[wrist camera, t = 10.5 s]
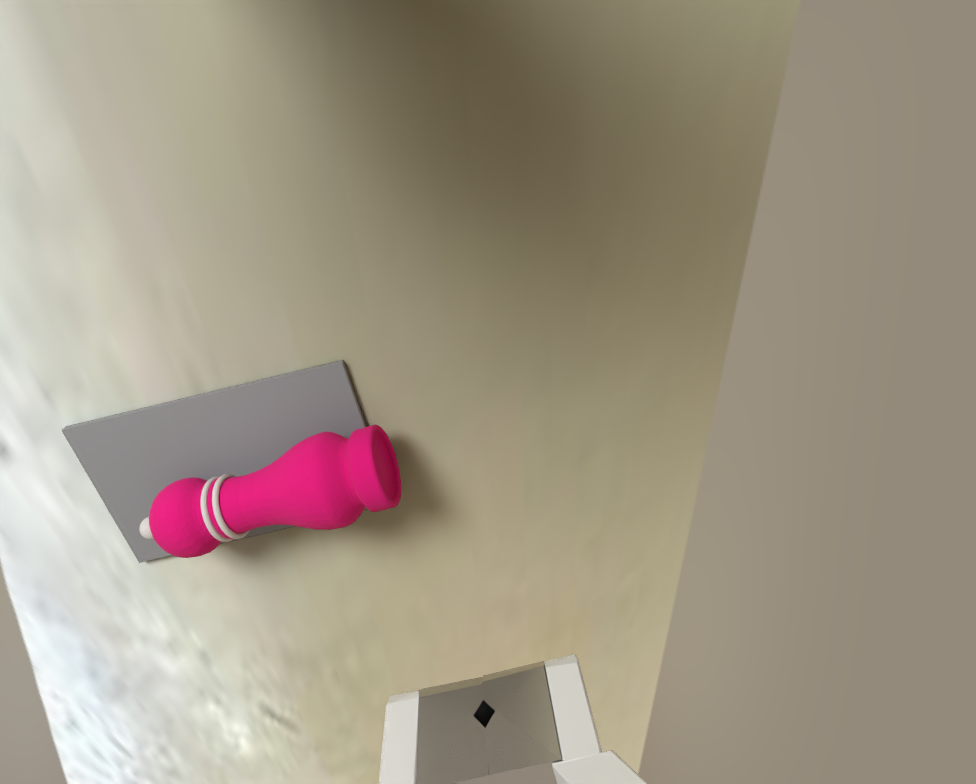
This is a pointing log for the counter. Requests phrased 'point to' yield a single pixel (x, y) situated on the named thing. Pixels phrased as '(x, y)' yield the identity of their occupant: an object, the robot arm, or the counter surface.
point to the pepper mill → (280, 493)
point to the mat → (208, 440)
